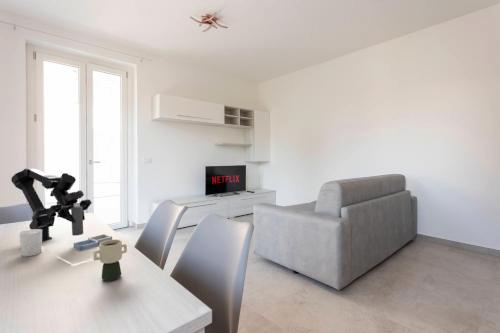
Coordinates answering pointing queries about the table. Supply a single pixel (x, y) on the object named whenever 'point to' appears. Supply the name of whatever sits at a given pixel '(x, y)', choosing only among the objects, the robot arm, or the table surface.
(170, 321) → the table surface
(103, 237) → the divided tray
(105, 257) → the beige and green cup
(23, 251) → the white cup
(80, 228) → the gray bottle
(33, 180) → the robot arm
